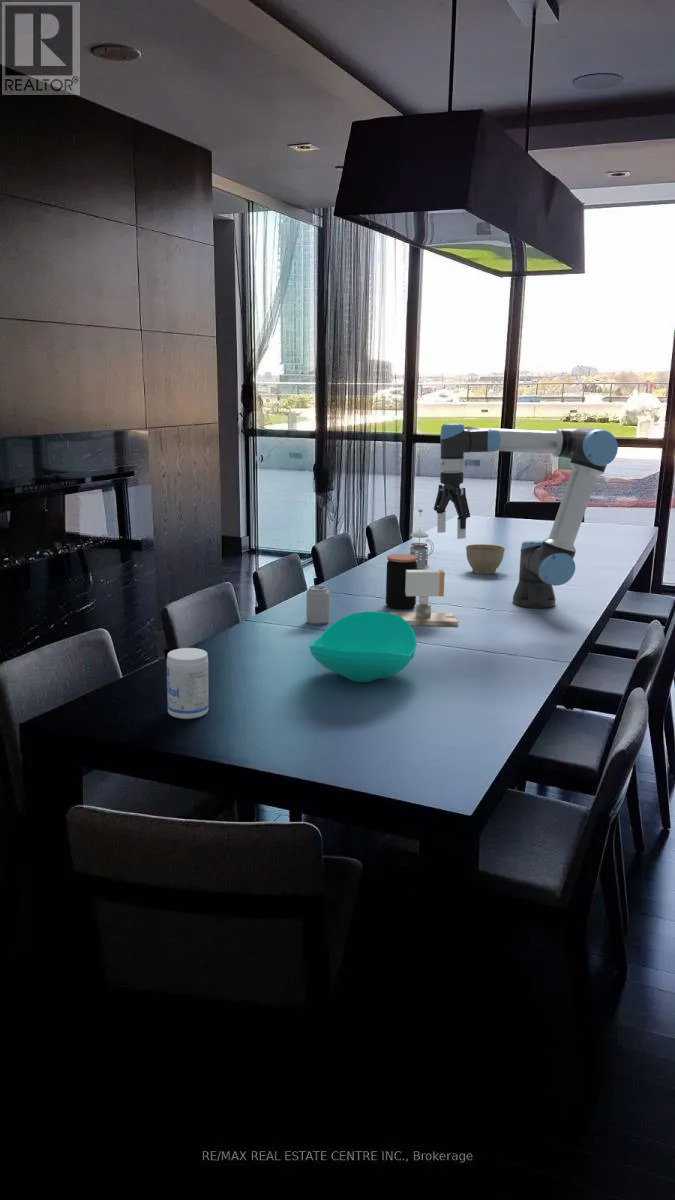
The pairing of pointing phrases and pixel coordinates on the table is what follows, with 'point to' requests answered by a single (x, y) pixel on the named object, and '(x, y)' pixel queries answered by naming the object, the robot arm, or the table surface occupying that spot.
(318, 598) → the can
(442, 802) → the table surface
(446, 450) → the robot arm
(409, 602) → the coffee jar
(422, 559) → the french press
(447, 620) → the lock board
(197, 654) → the supplement tub
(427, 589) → the orange-capped white bar
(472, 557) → the planter bowl
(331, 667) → the table top decor
